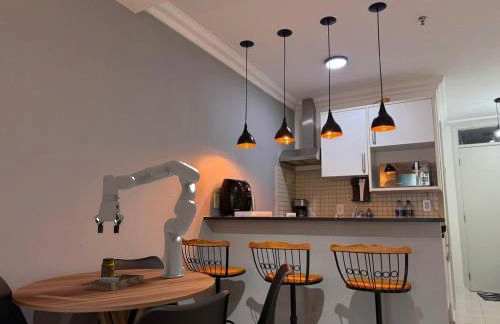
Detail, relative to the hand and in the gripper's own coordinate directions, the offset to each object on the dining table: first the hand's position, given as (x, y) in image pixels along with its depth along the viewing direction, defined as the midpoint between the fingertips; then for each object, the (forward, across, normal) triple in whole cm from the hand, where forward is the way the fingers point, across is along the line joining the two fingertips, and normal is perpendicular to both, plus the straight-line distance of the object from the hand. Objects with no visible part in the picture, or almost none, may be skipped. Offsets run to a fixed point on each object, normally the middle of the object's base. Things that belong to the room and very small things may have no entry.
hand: (108, 233), depth 180 cm
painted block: (+23, -11, +12) cm, 29 cm away
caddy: (+24, -12, +6) cm, 28 cm away
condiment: (+25, 0, 0) cm, 25 cm away
